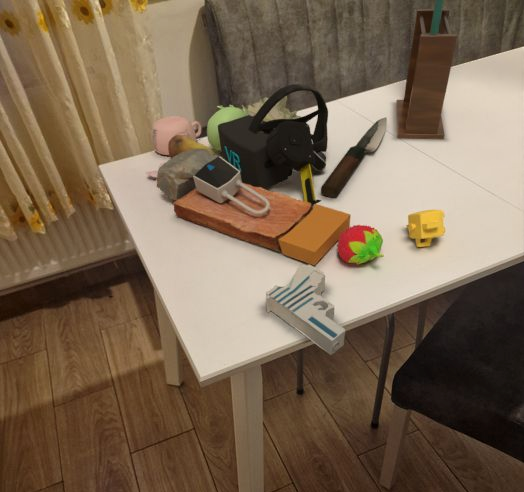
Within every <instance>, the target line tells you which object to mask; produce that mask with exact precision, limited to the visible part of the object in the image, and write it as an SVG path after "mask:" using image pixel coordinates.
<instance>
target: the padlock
mask: <svg viewBox="0 0 524 492" xmlns="http://www.w3.org/2000/svg"><path fill="white" fill-rule="evenodd" d="M216 157H217V158H216V159H214V160H212V161H210V162H209V163H207V164H206V165H204V166H203V167H202V168H201V169H200V170H199V171H198V172H197V173H196V174H195V175H194V176H193V178H194V182H195V186H196V189H197V191H199V192H201V193H202V194H204V195H206V196H208V197H210V198H211V199H213V200H215V201H217V202H219V203H222V202H224V201H226V200H227V199H230V200H231V201H233V202H235V203H236V204H238V205H239V206H241V207H242V208H244V209H246V210H247V211H249V212H251V213H253V214H255V215H261V214H264V213H266V212H267V211H268V210H269V208H270V203H269V201H268V200H267V199H266V198H264V197H263V196H261V195H260V194H258V193H257V192H255V191H254V190H252V189H251V188H249V187H248V186H246V185H244V184H243V183H242V180H241V174H240V171H239V170H238V169H237V168H235V167H234V166H232V165H231V164H230V163H228V162H227V161H226V160H224V159H223V158H222V156H221V155H218V156H216ZM241 187H242V188H243V189H245V190H246V191H248V192H250V193H251V194H253V195H254V196H256V197H257V198H259V199H260V200H262V201H263V202H264V203H265V204H266V207H265V208H264V209H263V210H260V211H256V210H254V209H252V208H250V207H248V206H247V205H245V204H243V203H242V202H240V201H239V200H237V199H236V198H234V197H233V195H234V194H235V193H236V192H237V191H238V190H239V189H240V188H241Z"/></svg>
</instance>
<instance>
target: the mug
mask: <svg viewBox="0 0 524 492" xmlns="http://www.w3.org/2000/svg"><path fill="white" fill-rule="evenodd" d="M195 126H197V132H196V130H195V128H194V127H195ZM201 134H202V125H201V123H200V122H199V121H197V120H194V121H193V122H191V121H190V120H189V119H188V118H187V117H184V116H180V115H170V116H165V117H162V118H160V119H158V120H156V121H155V122H153V124H152V127H151V132H150V139H151V144H152V147H153V149H154V151H155V152H156V153H158V154H160V155H164V156H170V155H169V150H168V148H169V147H168V144H169V141H170V140H171V138H172V137H174V136H176V135H183V136H186V137H188V138H190V139H192V140H194V141H195V142H197V138H198V137H200V135H201Z"/></svg>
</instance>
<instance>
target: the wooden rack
mask: <svg viewBox="0 0 524 492" xmlns="http://www.w3.org/2000/svg"><path fill="white" fill-rule="evenodd" d="M433 12H434V8H417V9H416V13H415V19H414V27H413V34H412V40H411V47H410V52H409V53H410V54H409V58H408V59H409V60H408V67H407V72H406V73H407V74H406V80H405V86H404V93H403V99H396V100H395V107H396V109H395V111H396V114H395V115H396V138H397V139H421V140H445V134H446V133H445V129H444V124H443V117H442V111H443V107H444V102H445V98H446V93H447V88H448V83H449V78H450V75H451V69H452V65H453V61H454V55H455V51H456V45H457V40H458V33H452V32H451V27H450V24H449V17H450V12H451V10H450V8H442V13H441V19H440V24H439V30H438V33H440V34H426V33H430V30H431V24H432V18H433Z"/></svg>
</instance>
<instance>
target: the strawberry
mask: <svg viewBox="0 0 524 492" xmlns="http://www.w3.org/2000/svg"><path fill="white" fill-rule="evenodd" d="M383 243H384V239H383V237H382V235H381V233H380V232H379V231H378V229H376V228H375V227H371V225H364V224H363V225H361V224H357V225H352V226H350V227H349V228H348V229H347V230H346V229H345V231H344V232H342V234H341V235H340V237H339V239H338V241H337V248H336V249H337V250H338V255H339V256H340V257H339V258H340V259H341V260H342V261H344V263H348V264H354V265H355V264H356V265H358V266H359V265H360V264H361V265H362V264H364V263H367V262H368V261H372V260H373V259H375V258H383V257H384V255H383V254H382V253H380V252H381V250H382V246H383Z"/></svg>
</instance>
